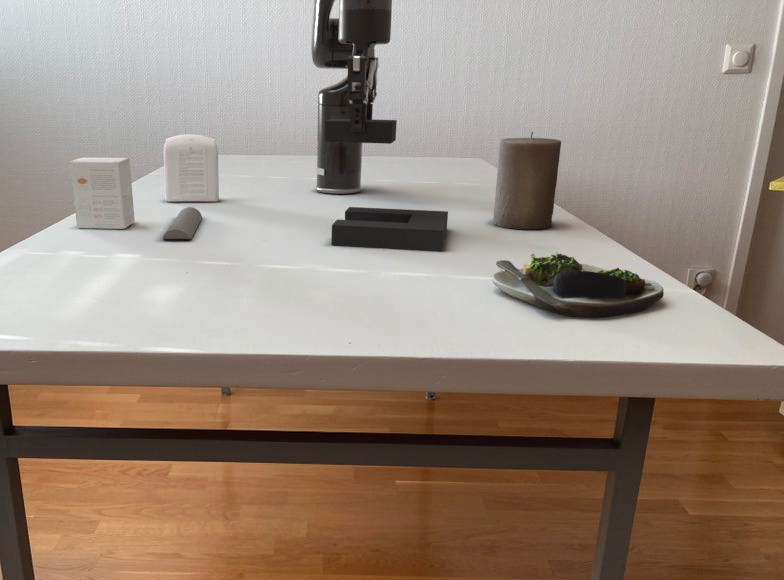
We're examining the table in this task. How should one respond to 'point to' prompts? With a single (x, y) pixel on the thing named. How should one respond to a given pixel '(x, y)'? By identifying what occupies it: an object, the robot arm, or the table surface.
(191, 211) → the half round rod
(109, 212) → the small box
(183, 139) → the white arched block
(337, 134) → the pad piece
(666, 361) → the table surface
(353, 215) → the slotted rectangular block
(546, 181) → the pillar candle
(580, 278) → the salad plate
